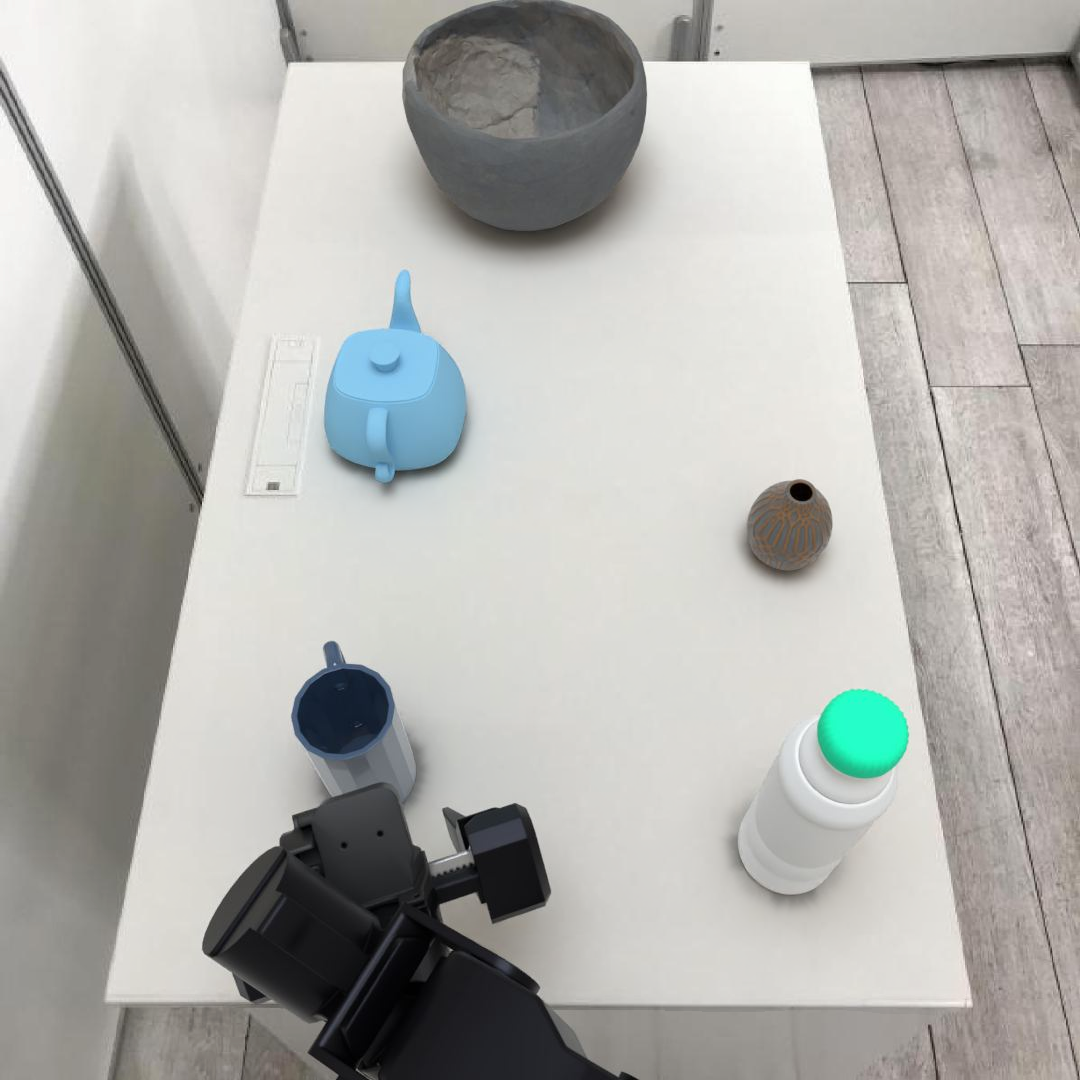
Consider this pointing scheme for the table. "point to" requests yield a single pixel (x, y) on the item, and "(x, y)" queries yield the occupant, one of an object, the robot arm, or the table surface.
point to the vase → (789, 525)
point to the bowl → (525, 109)
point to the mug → (352, 728)
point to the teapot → (394, 395)
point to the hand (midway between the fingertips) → (379, 835)
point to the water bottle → (823, 791)
